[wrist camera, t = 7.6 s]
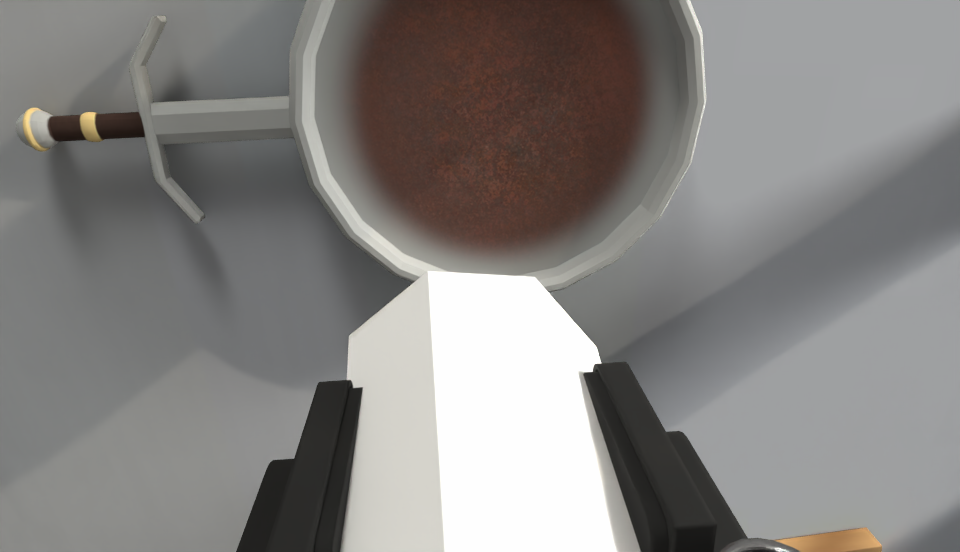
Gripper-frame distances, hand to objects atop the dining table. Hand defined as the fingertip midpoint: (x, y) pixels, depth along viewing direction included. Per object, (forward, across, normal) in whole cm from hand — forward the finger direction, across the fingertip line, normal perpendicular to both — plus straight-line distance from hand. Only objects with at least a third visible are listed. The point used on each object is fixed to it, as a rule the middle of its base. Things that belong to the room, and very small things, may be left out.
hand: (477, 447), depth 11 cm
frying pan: (+19, +3, -4) cm, 20 cm away
